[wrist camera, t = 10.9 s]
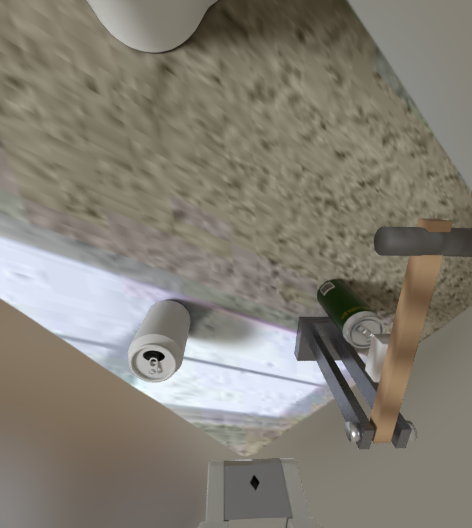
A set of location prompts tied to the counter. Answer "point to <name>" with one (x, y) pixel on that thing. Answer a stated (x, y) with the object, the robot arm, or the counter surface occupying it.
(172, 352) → the can
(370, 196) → the counter surface
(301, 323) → the press frame
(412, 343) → the hammer
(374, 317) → the green soda can
